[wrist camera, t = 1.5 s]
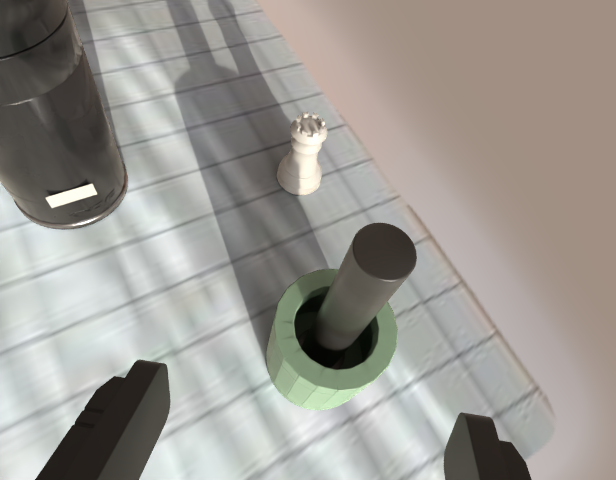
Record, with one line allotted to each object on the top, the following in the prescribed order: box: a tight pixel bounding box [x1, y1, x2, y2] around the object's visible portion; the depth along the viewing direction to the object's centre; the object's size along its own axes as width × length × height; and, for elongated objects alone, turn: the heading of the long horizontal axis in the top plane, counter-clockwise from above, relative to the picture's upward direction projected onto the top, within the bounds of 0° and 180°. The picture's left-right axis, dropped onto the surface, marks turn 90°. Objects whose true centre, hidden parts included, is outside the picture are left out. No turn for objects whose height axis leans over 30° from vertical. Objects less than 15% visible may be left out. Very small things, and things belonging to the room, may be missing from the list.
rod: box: [298, 223, 417, 370], centre depth 28 cm, size 4×4×18 cm
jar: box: [266, 269, 398, 410], centre depth 32 cm, size 8×8×8 cm
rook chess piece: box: [277, 112, 327, 195], centre depth 41 cm, size 4×4×8 cm
